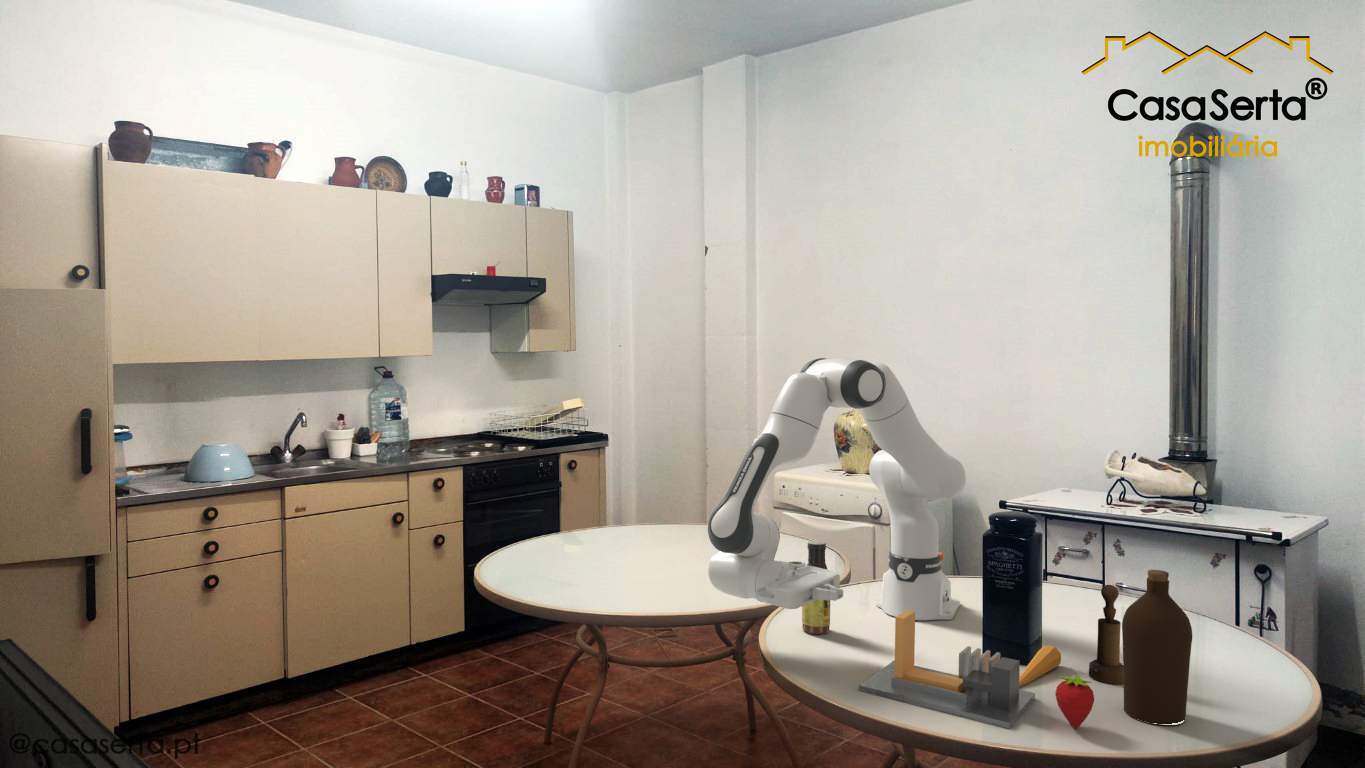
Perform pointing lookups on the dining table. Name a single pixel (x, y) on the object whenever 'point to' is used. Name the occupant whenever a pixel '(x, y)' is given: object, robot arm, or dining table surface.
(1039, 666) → the carrot
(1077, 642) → the dining table surface
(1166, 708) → the olive oil
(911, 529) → the robot arm
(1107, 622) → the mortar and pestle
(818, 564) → the sauce bottle
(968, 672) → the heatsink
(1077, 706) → the strawberry
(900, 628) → the orange l-shaped block
